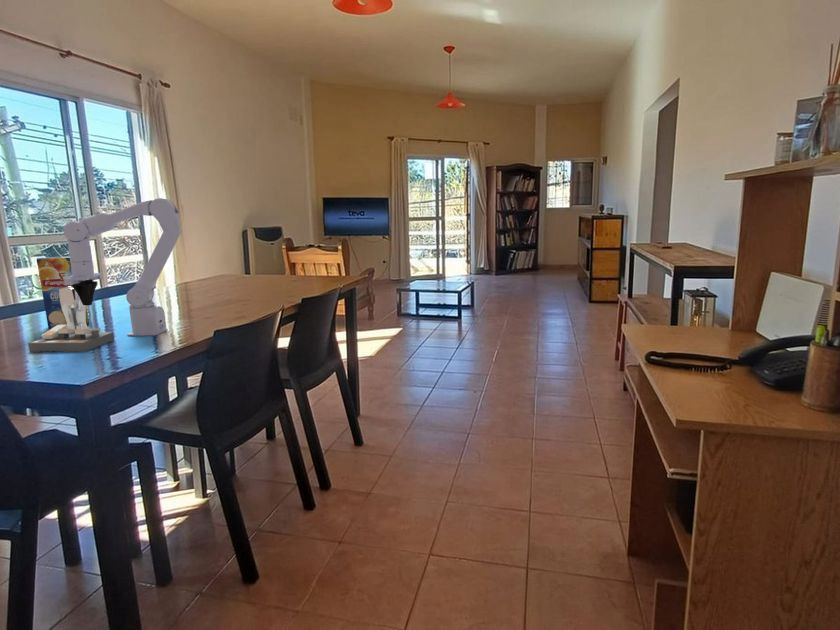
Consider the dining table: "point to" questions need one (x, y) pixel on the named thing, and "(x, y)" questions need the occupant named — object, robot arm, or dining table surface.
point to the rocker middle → (67, 331)
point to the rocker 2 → (85, 331)
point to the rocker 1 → (53, 332)
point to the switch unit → (72, 342)
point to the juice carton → (54, 287)
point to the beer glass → (72, 308)
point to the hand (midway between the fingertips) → (87, 305)
